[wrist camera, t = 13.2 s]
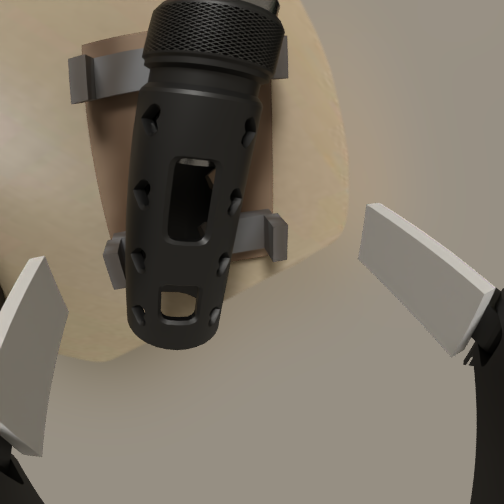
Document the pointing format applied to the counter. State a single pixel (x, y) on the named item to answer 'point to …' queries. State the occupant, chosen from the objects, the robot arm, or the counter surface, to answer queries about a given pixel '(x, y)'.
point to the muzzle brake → (193, 158)
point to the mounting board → (120, 140)
